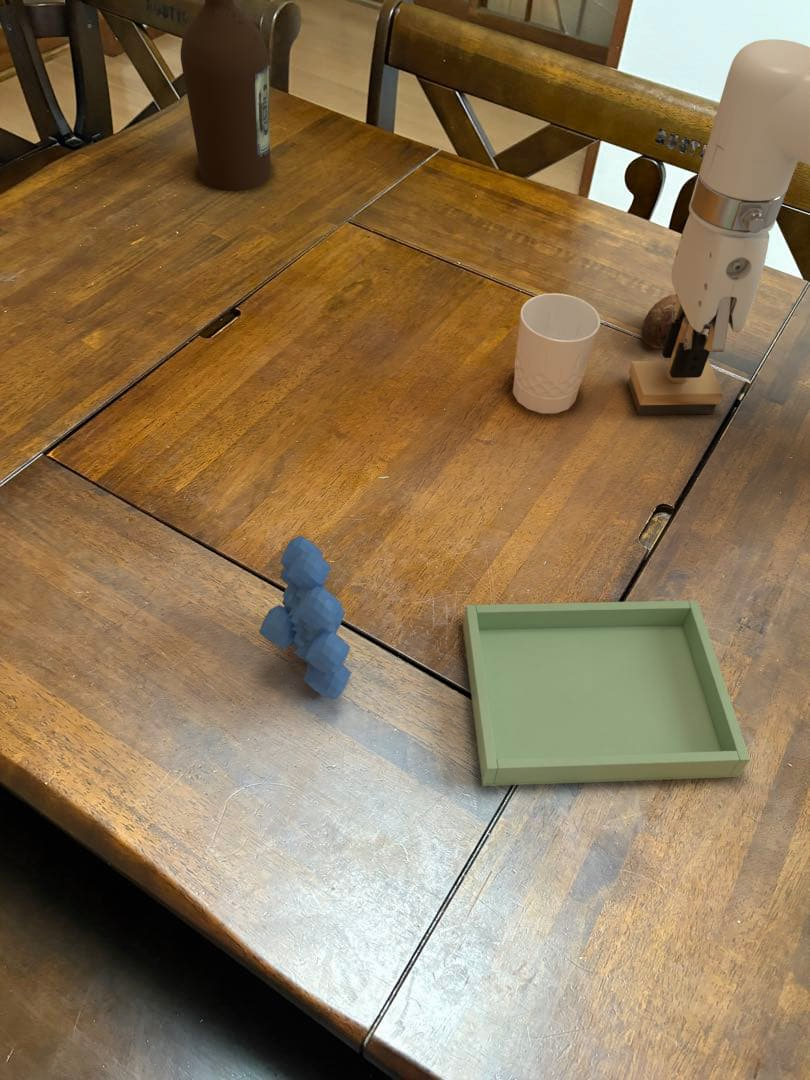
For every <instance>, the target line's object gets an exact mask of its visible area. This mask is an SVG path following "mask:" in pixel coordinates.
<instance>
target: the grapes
mask: <svg viewBox="0 0 810 1080" xmlns="http://www.w3.org/2000/svg"><path fill="white" fill-rule="evenodd" d="M323 554H324V552H323V551H322V550H321V549H320V548H319V547H318V546H317V545H316V544H314V543H313V542H312V541H311V540H309V539H308V538H306V537H304V536H301V535H298V536H296V537H295V538H293V539H291V540H290V541H289V542H288V544H287V546H286V547H285V549H284V551H283V554H282V556H281V559H280V561H279V563H280V564H281V565H282V566H283V568H282V571H281V573H280V575H279V579H280V580H282V581H283V582H284V584H285V585H287V586H286V588H285V589H284V592H283V594H282V598H283V599H282V602H281V604H283V606H282V605H280V604H278V605H276V606H273V607H272V608H270V609H269V611H268V612H267V614H266V615H265V617H264V619H263V621H262V624H261V626H260V630H259V634H260V635H261V636H263V637H264V638H265V639H266V640H267V641H268V642H269V643H270V644H271V645H274V646H276V647H278V648H280V649H283V650H284V649H287V648H289V647H290V646H292V645H293V646H294V649H293V653H294V654H295V655H296V656H297V657H298V658H300V659H302V660H303V661H304V662H305V663H306V668H307V669H306V672H305V674H304V677H303V681H304V683H306V685H308V686H310V688H311V689H312V690H314V691H315V692H316V693H318V694H319V695H320V696H322V697H324V698H326V699H328V700H331V701H333V700H337V699H338V698H340V696H341V695H342V694H343V693H344V691H345V689H346V688H347V685H348V682H349V680H350V677H351V674H352V672H351V670H349V668H347V667H346V666H345V665H344V664H345V663H346V659H347V657H348V654H349V652H350V649H351V646H350V645H349V643H347V641H345V640H344V639H343V638H342V637H340V636H339V634H337V633H338V631H339V629H340V627H341V624H342V622H343V620H344V617H345V614H346V610H344V608H343V603H342V602H341V601H340V600H339V599H338V598H337V597H336V596H335V595H334V594H332V592H330V591H328V590H327V589H326V586H325V585H324V584H325V583H326V581H327V579H328V576H329V573H330V571H331V570H332V566H331V564H330V563H329V562H328V561H327V560H326V559H324V557H323Z"/></svg>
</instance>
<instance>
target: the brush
mask: <svg viewBox="0 0 810 1080" xmlns="http://www.w3.org/2000/svg"><path fill="white" fill-rule="evenodd" d="M688 325H689V321H688V319H687V317H686V316H685V317H684V318H683V321H682V324H681V328H680V331H679V334H678V337H677V340H676V343H675V346H674V349H673V352H672V356H671V358H669V360H631V363H630V366H629V370H628V374H629V379H628V383H627V385H628V388H629V392H630V394H631V398H632V400H633V403H634V406H635V409H636V412H637V416H649V415H650V416H652V415H654V416H655V415H656V416H658V415H663V416H664V415H713V413H714V412H715V408H716V406H717V405H720V402H721V401H722V398H723V395H724V392H723V390H722V387H721V385H720V382H719V381H718V378H717V376H716V373H715V371H714V369H713V366H712V364H711V362H710V360H709V359H707V361H706V364H705V367H704V370H703V373H702V375H701V376H700V377H698V378H672V377H671V375H670V369H671V366H672V363H673V360H674V357H675V354H676V351H677V348H678V345H679V343H683V342H684V338H685V335H686V331H687V328H688ZM706 331H707V329H704V330H702V332H700V333H699V332H697V334H696V335H699V334H706Z"/></svg>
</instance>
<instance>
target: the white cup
mask: <svg viewBox="0 0 810 1080" xmlns="http://www.w3.org/2000/svg"><path fill="white" fill-rule="evenodd" d="M600 328H601V317H600V314H599V312H598V311H597V310H596V309H595V307H593V306H592V305H591V304H590V303H589V302H587V301H586V300H584V299H581V298H579V297H578V296H573V295H571V294H565V293H555V292H550V293H542V294H538V295H535V296H533V297H531V298H529V299H528V300H527V301H525V302H524V303H523V305H522V307H521V308H520V313H519V322H518V331H517V339H516V348H515V354H514V355H515V356H514V367H513V369H514V378H513V386H512V394H513V396H514V397H515V399H516V401H517V403H519V404H520V405H522V406H523V407H524V408H526V409H527V410H530V411H532V412H536V413H540V414H558V413H561V412H565V411H567V410H569V409H570V408H571V407H572V406H573V405H574V403H575V402H576V400H577V396H578V393H579V390H580V386H581V384H582V382H583V380H584V377H585V374H586V370H587V368H588V365H589V363H590V360H591V356H592V353H593V350H594V346H595V343H596V340H597V337H598V334H599V331H600Z"/></svg>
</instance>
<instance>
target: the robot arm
mask: <svg viewBox="0 0 810 1080" xmlns="http://www.w3.org/2000/svg"><path fill="white" fill-rule="evenodd" d="M701 161H702V162H701V165H700V168H699V171H698V174H697V179H696V181H695V184H694V188H693V191H692V196H691V199H690V201H689V205H688V211H689V215H688V217H687V220H686V222H685V225H684V228H683V231H682V234H681V237H680V239H679V242H678V245H677V249H676V252H675V255H674V259H673V262H672V268H671V275H670V276H671V282H672V286H673V288H674V291H675V294H676V296H677V300H676V303H675V306H674V309H673V312H672V321H673V322H676V323H671V324H670V328H669V331H668V334H667V337H666V341H665V344H664V347H663V349H662V350H661V355H662V357H663V358H665V359H671V356H672V352H673V349H674V346H675V343H676V340H677V337H678V334H679V331H680V328H681V324H682V321H683V318H684V317H685V316H686V317H687V319H688V321H689V325H688V328H687V331H686V335H685V338H684V342H683V343H679V345H678V348H677V351H676V354H675V357H674V360H673V363H672V366H671V369H670V375H671V377H672V378H698V377H700V376H701V375H702V373H703V370H704V367H705V364H706V361H707V360H709V359H708V358H709V356H710V353H722V352H724V351H725V348H726V342H727V334H728V333H727V332H728V329H729V326H730V329H731V330H732V333H742V331H743V330H744V329H745V325H746V324H747V322H748V318H749V316H750V314H751V310H752V307H753V304H754V301H755V298H756V295H757V292H758V288H759V286H760V282H761V280H762V279H761V278H762V275H763V270H764V267H765V263H766V258H767V254H768V250H769V249H768V248H769V242H770V237H771V236H770V233H769V232H770V231H771V230H772V229H773V228H774V226H775V224H776V222H777V221H776V220H777V217H778V215H779V212H780V210H781V207H782V204H783V202H784V199H785V196H786V194H787V191H788V189H789V186H790V184H791V181H792V178H793V175H794V172H795V171H796V167H797V165H798V162H801V163H803V164H806V165H809V166H810V46H808V45H805V44H802V43H800V42H796V41H791V40H786V39H773V38H772V39H760V40H756V41H755V40H754V41H753V42H750V43H748V44H746V45H744V46H743V47H742V48H741V49H739V50H738V52H737V53H736V55H735V56H734V58H733V59H732V62H731V64H730V67H729V70H728V73H727V76H726V80H725V83H724V87H723V89H722V93H721V97H720V99H719V104H718V107H717V111H716V114H715V118H714V121H713V124H712V126H711V131H710V134H709V138H708V141H707V144H706V147H705V151H704V154H703V158H702V160H701ZM704 329H706V330H708V332H707V333H705V334H699V335H696V334H697V332H699V333H700V332H702V330H704Z"/></svg>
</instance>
